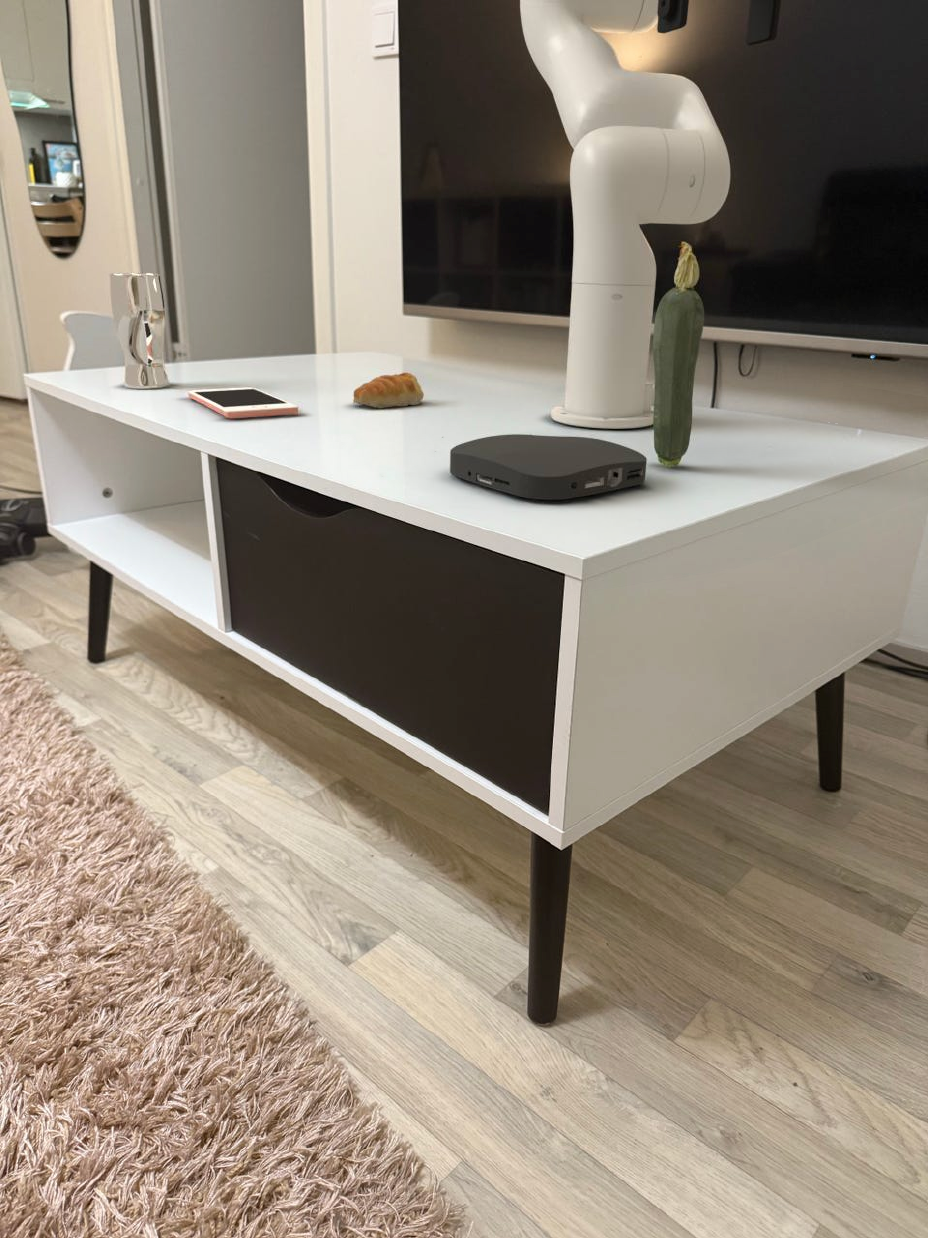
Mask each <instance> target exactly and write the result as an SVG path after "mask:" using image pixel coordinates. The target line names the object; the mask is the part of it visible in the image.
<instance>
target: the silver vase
mask: <svg viewBox="0 0 928 1238" xmlns="http://www.w3.org/2000/svg"><path fill="white" fill-rule="evenodd" d="M109 287H110V288H109V290H110V303H111V304H110V305H111V310H112V315H113V316H112V317H113V321H114V325H115V329H116V333H117V336H118V339H119V342H120V346H121V349H122V355H123V359H124V381H123V382H124V385H123V386H124V388H128V389H133V390H153V389H162V388H167V387H170V380H169V377H168V374H167V370H166V366H165V358H164V356H165V355H164V351H165V338H166V337H165V336H166V335H165V334H166V305H165V298H164V297H165V296H164V290H163V286H162V280H161V274H160V273H147V272H146V273H145V272H143V273H141V272H111V273H109Z"/></svg>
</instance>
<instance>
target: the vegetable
mask: <svg viewBox="0 0 928 1238" xmlns="http://www.w3.org/2000/svg"><path fill="white" fill-rule="evenodd" d="M678 248H681V249H680V250H679V257H678V258H677V260H678V263H677V267H676V268H675V269H676V270H675V272H674V277H673V281H674V284H675V287H672V288H671V289H670V290H668V291H667V292H666V293H665V294H664V295H663V296H662V298H661V300H660V301H659V304H658V306H657V308H656V313H655V317H654V324H653V337H652V338H653V339H652V358H653V371H654V386H655V396H654V406H653V411H654V417H653V424H652V425H653V448H654V451H655V454H656V455H657V460H658V462H659V463H660V464H662V466H663V467H664V468H668V467H670V466H674V467H676V466H678V465H679V464H680V462H681V461H682V458H683V457H684V456H685V454H687V452H688V448H689V446H690V441H691V435H692V434H691V433H692V428H693V395H694V384H695V376H696V375H695V374H696V366H697V362H698V357H699V352H700V345H701V344H700V343H701V339H702V336H703V332H704V323H705V309H704V304H703V301H702V298H701V297H700V295H699V294H698V292H696V291H695V288H694V286H696V285H697V283H698V281H699V278H700V267H699V264H698V260H697V257H696V255H695V254H694V253H693V250H692V249H693V247H692V245H691V244H690V243H687V242H686V241H681V243H680V246H678Z"/></svg>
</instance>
